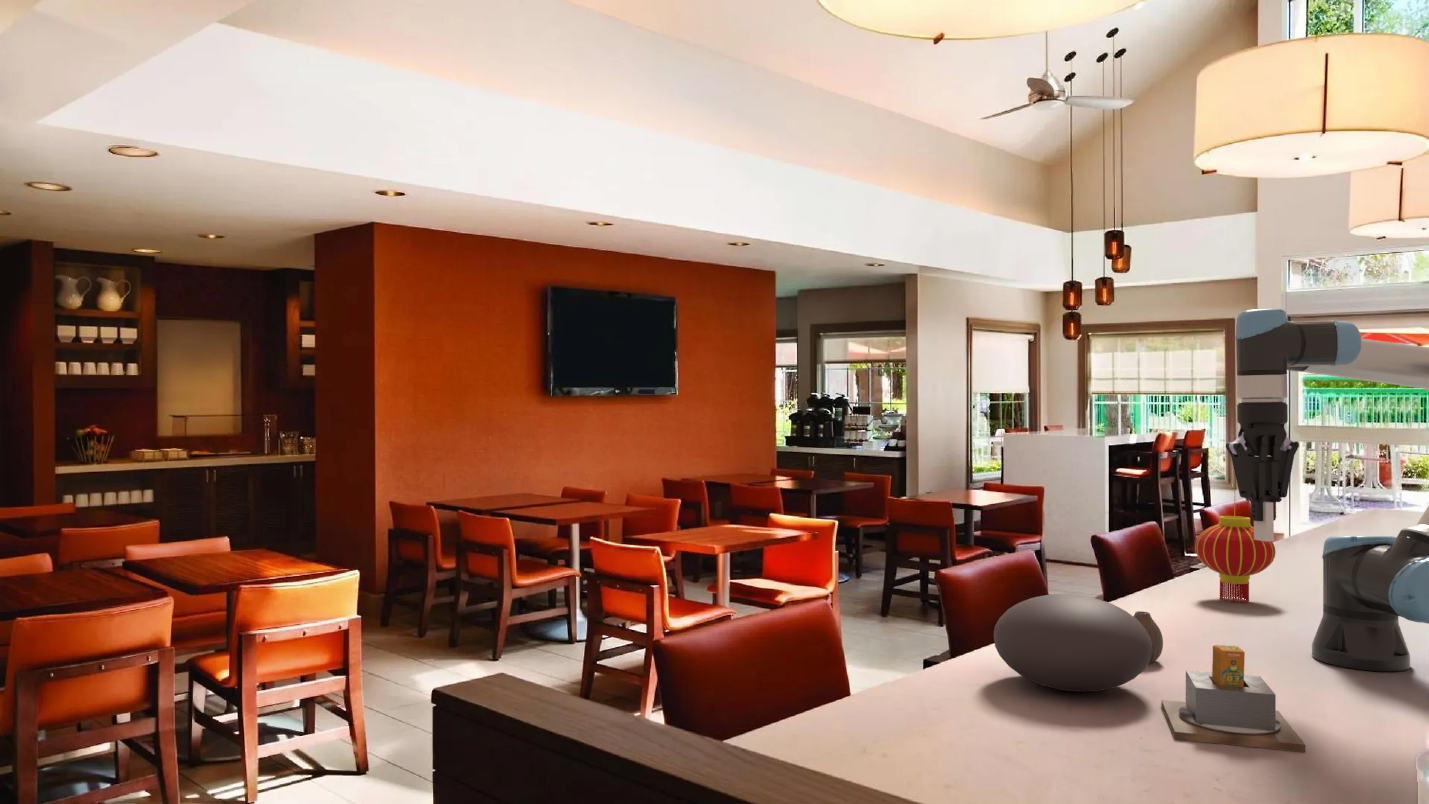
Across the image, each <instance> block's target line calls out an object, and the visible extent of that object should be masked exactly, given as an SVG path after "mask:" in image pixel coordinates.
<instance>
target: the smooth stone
mask: <svg viewBox="0 0 1429 804" xmlns="http://www.w3.org/2000/svg"><path fill="white" fill-rule="evenodd" d="M1133 616H1134V615H1133V614H1130V612H1128V611H1127V610H1125V609H1123V608H1121V607H1119V606H1117V605H1115V604H1113V603H1111V602H1108V601H1105V600H1102V599H1099V598H1095V597H1091V596H1087V595H1080V594H1079V595H1078V594H1072V593H1071V594H1068V593H1063V594H1061V593H1058V594H1057V593H1054V594H1046V595H1040V596H1035V597H1030V598H1029V599H1025V600H1023V601H1021V602H1018V603H1016V604H1014V605H1012V607H1010V608H1008V609H1007V610H1006V611H1005V612H1004V613H1003V614H1002V615H1001V616H1000V617H999V619H998V620H997V621H996V624H995V625H994V630H993V641H994V648H995V649H996V651H997V653H998V655H999V657H1000V658H1001V659H1002V660H1003V662H1004V663H1006V665H1007V666H1008V667H1009V668H1010V669H1012V670H1013V671H1014V672H1016V674H1018V675H1020V676H1022V678H1023V677H1024V678H1025V679H1027V680H1029V681H1031V682H1034V683H1037V684H1039V685H1040V686H1044V687H1048V688H1052V689H1056V690H1061V691H1069V692H1079V693H1081V692H1097V691H1104V690H1109V689H1112V688H1116V687H1120V686H1122V685H1125V684H1127V683H1129V682H1130V681H1132V680H1135V679H1136V678H1137V677H1138V676H1139V675H1140V674H1141V673H1143V672H1144V671H1145V670H1146V668H1147V666H1148V665H1149V664H1150V663H1149V662H1150V659H1151V654H1152V643H1151V638H1150V637H1149V635H1148V633H1147V631H1146V629H1145V628H1144V627H1143V626H1142V625H1141V623H1140V622H1139V621H1138V620H1137V619H1136V618H1135V617H1133Z"/></svg>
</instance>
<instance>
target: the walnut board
mask: <svg viewBox="0 0 1429 804" xmlns="http://www.w3.org/2000/svg"><path fill="white" fill-rule="evenodd" d="M1160 702H1161V704H1160V705H1161V709H1162V712H1163V714H1164V716H1165V718H1166V721H1167V723H1168V726H1169V728H1170V730H1171V731H1170V732H1171V734H1172V735H1173V738H1174V740H1184V741H1192V742H1199V743H1202V742H1203V743H1212V744H1222V745H1230V746H1231V745H1233V746H1240V747H1248V748H1249V747H1250V748H1259V749H1260V748H1261V749H1270V750H1281V751H1290V752H1299V753H1306V750H1307V749H1306V745H1307V744H1306V743H1305V742H1304V741H1303V739H1302V738H1301V737H1300V736H1299V735H1298V733H1297V732H1296V731H1295V729H1294V728H1293V727H1292V726H1291V725H1290V724H1289V722H1288V721H1287V720H1286V718H1285V717H1284V716H1283V714H1282V713H1281V712H1280V711H1279V710H1276V714H1275V718H1276V719H1277V720H1278V721H1279V722H1280V730H1279V731H1278V732H1276V733H1274V734H1269V735H1259V736H1248V735H1235V734H1227V733H1221V732H1216V731H1211V730H1207V729H1203V728H1200V727H1197V726H1194V725H1191V724H1189V723H1187V722H1185V721H1184V720H1182V719H1181V718H1180V717H1179V709H1180V708H1181V707H1182V706H1185V705H1186V701H1176V700H1165V699H1161V701H1160Z"/></svg>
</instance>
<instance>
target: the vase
mask: <svg viewBox="0 0 1429 804" xmlns="http://www.w3.org/2000/svg"><path fill="white" fill-rule="evenodd" d="M1132 616H1133V617H1135V618H1136V619H1137V620H1138V621H1139V622H1140V623H1141V625H1142V626H1143V627H1144V628H1145V629H1146V631H1147V633H1148V635H1149V637H1150V638H1151V643H1152V654H1151V659H1150V662H1149V663H1148V664H1152V663H1155V662H1156V661H1157V660H1158V659H1159V658H1160V656H1161V654H1162V652H1163V648H1164V640H1163V639H1164V638H1163V634H1162V631H1161V629H1160V627H1159V626H1158V625H1157V623H1156V622H1155V620H1154V619H1153V617H1152V616H1151V613H1150V612H1148V611H1144V610H1143V611H1142V610H1141V611H1140V610H1139V611H1138V610H1137V611H1135V613H1134V614H1133V615H1132Z"/></svg>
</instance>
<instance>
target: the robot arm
mask: <svg viewBox="0 0 1429 804" xmlns="http://www.w3.org/2000/svg"><path fill="white" fill-rule="evenodd" d="M1234 339H1235V348H1236V349H1235V350H1236V352H1235V355H1236V398H1237V399H1238V400H1240V402H1238V404H1236V407H1237V408H1236V414H1237V415H1236V421H1237V423H1238V424H1239V426H1240V428H1239V431H1238V432H1237V438H1236V439H1234V440H1233V442H1226V444H1225V448H1226V450H1227V451H1228V453H1229V455H1230V458H1231V461H1232V466H1233V471H1234V477H1235V482H1236V484H1237V488H1238V489H1237V490H1238V494H1239V497H1241V498H1242V499H1245V500H1246V501H1248V502H1249V501H1250V520H1251V521H1253V527H1254V540H1260V541H1266V542H1267V541H1272V542H1274V541H1275V539H1274V536H1275V532H1274V529H1275V528H1274V522H1275V521H1276V518H1277V503H1280V502H1282V499H1283V498H1284V499H1285V498H1286V497H1287V496H1288V490H1289V485H1290V481H1291V474H1292V469H1293V464H1294V458H1295V455H1296V452H1297V451H1298V449H1299V447H1300V443H1299V442H1298V441H1296V440H1295V441H1294V440H1291V439H1290V438H1289V437H1287V435H1288V434H1287V431H1286V429H1285V424H1287V423H1288V421H1289V418H1288V413H1289V412H1288V411H1289V410H1288V409H1289V408H1288V403H1287V402H1285V400H1284V399H1287V398H1288V371H1291V372H1299V373H1300V372H1301V373H1307V374H1308V373H1309V374H1313V375H1320V376H1323V375H1324V376H1328V377H1329V376H1331V377H1336V378H1345V379H1351V380H1360V381H1367V382H1373V383H1374V382H1375V383H1382V384H1386V385H1387V384H1389V385H1395V386H1404V387H1409V388H1410V387H1411V388H1418V389H1425V391H1426V392H1427V393H1429V346H1421V345H1414V344H1406V343H1399V342H1392V341H1383V340H1376V339H1369V338H1362V335H1361V332H1360V330H1359V329H1358V327H1357V326H1356V324H1354V323H1353V322H1350V321H1343V320H1342V321H1341V320H1340V321H1338V320H1335V319H1332V320H1320V321H1319V320H1315V321H1314V320H1313V321H1311V320H1310V321H1290V320H1288V317H1287V312H1286V311H1285V309H1282V308H1261V309H1260V308H1258V309H1248V310H1243V311H1241V312H1240V313H1239V314H1237V317H1236V324H1235V336H1234ZM1321 558H1322V568H1323V569H1322V575H1323V577H1322V584H1323V585H1322V590H1323V591H1322V594H1323V595H1322V604H1323V605H1322V608H1323V609H1322V617H1321V619H1320V622H1319V625H1318V628H1317V630H1316V633H1315V635H1314V637H1313V640H1312V643H1311V656H1312V657H1313V658H1314V659H1316V660H1318V661H1320V662H1323V663H1326V664H1330V665H1334V666H1338V667H1343V668H1349V669H1356V670H1364V671H1373V672H1374V671H1375V672H1401V671H1407V670H1409V669H1410V668H1411V655H1410V651H1409V649H1408V646H1407V645H1408V644H1407V643H1406V641H1405V637H1404V635H1403V632H1402V630H1401V627H1400V621H1399V617H1400V618H1402V619H1404V620H1407V621H1410V622H1415V623H1421V624H1422V623H1423V624H1427V625H1428V624H1429V504H1428V506H1427V507H1426V509H1425V511H1424V512H1423V514H1422V516H1421V517H1420V518H1419V520H1418V522H1417V523H1416V524H1415V525H1414V526H1410V527H1409V526H1408V527H1405V528H1402V529H1401V530H1400V531H1399V532H1398V535H1397V536H1394V535H1393V536H1390V535H1389V536H1387V535H1386V536H1383V535H1381V536H1378V535H1377V536H1375V535H1373V536H1372V535H1371V536H1369V535H1368V536H1367V535H1366V536H1365V535H1364V536H1363V535H1358V536H1357V535H1353V536H1352V535H1348V536H1347V535H1345V536H1344V535H1332V536H1329V537H1327V538H1326V539H1325V540H1324V543H1323V551H1322V555H1321Z"/></svg>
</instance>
